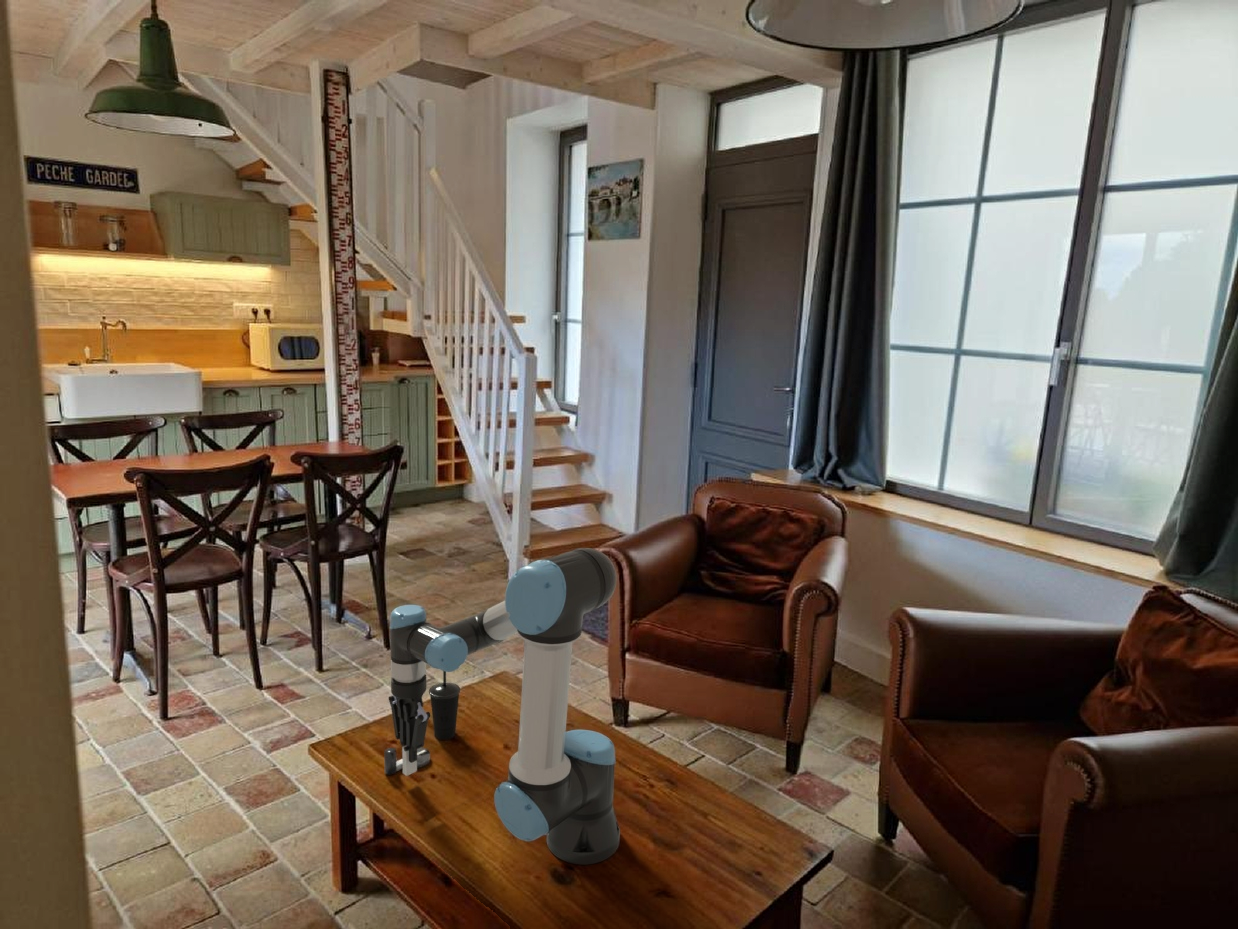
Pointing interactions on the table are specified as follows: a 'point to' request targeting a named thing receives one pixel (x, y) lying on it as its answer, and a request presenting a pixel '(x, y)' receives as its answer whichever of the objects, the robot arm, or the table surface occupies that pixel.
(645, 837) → the table surface
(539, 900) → the table surface
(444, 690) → the drinking cup
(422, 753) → the crank
